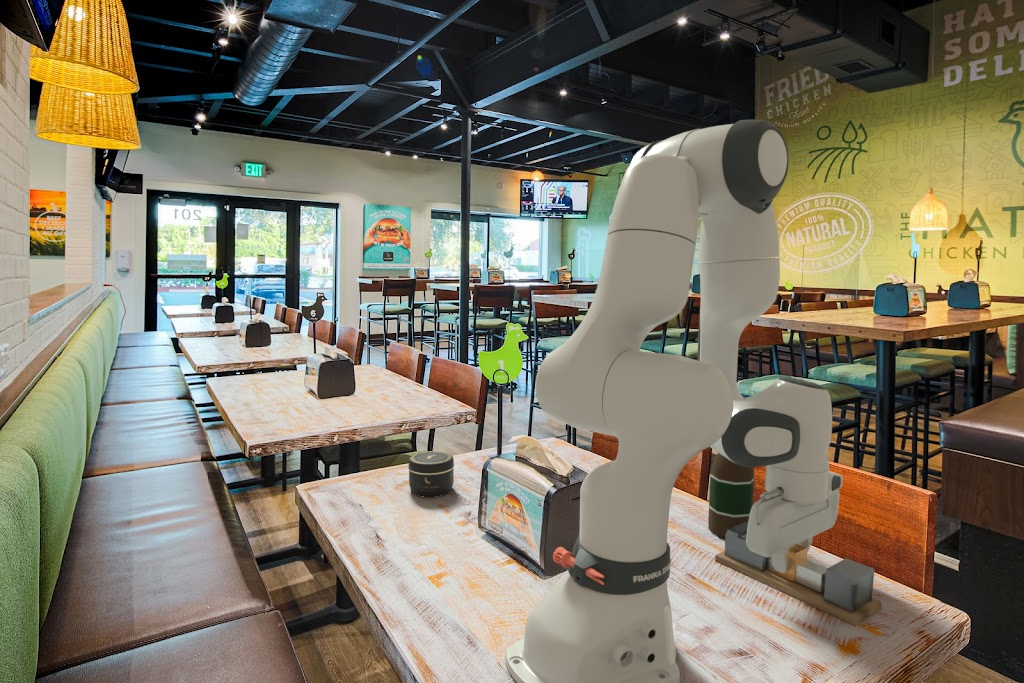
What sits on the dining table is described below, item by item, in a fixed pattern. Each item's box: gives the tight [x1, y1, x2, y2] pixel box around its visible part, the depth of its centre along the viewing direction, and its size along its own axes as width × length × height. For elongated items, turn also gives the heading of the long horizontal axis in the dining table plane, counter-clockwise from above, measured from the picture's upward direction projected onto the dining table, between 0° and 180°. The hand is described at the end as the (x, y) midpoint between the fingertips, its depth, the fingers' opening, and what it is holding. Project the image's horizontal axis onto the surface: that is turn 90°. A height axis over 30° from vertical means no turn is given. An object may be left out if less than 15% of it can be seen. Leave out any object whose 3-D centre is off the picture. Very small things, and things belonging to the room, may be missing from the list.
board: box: [714, 550, 883, 626], centre depth 95 cm, size 8×23×1 cm, turn 35°
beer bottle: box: [707, 452, 755, 539], centre depth 112 cm, size 8×8×24 cm
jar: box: [407, 450, 455, 498], centre depth 134 cm, size 10×10×8 cm
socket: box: [824, 557, 875, 613], centre depth 88 cm, size 6×4×5 cm
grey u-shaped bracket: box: [724, 522, 766, 572], centre depth 101 cm, size 5×7×5 cm
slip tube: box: [745, 537, 828, 592], centre depth 96 cm, size 3×14×5 cm, turn 35°
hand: (790, 566), depth 95 cm, fingers closed on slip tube, 3 cm apart
